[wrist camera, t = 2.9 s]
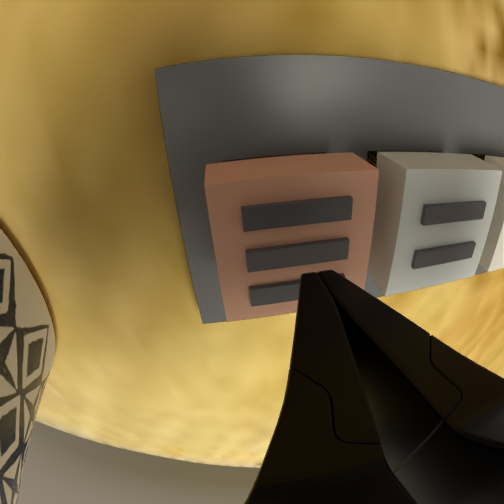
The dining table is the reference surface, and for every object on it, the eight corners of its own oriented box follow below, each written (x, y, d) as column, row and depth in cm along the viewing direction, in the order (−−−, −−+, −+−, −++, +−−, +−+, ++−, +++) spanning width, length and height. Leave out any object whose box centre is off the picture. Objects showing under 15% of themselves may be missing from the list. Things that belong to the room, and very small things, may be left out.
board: (520, 94, 11) (534, 99, 10) (488, 259, 18) (498, 268, 17) (160, 69, 10) (154, 68, 9) (203, 308, 17) (202, 323, 16)
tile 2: (453, 146, 11) (505, 172, 8) (437, 239, 14) (476, 278, 11) (362, 143, 11) (409, 171, 8) (354, 250, 14) (387, 299, 11)
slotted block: (339, 143, 11) (382, 172, 8) (334, 253, 14) (363, 304, 11) (206, 155, 11) (203, 187, 8) (223, 267, 14) (227, 325, 11)
